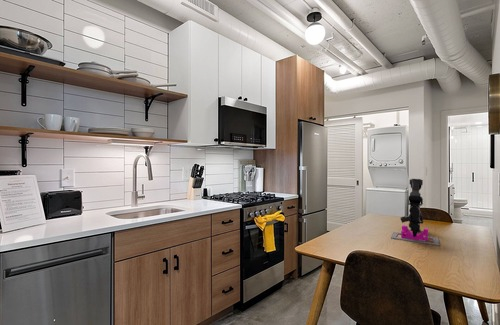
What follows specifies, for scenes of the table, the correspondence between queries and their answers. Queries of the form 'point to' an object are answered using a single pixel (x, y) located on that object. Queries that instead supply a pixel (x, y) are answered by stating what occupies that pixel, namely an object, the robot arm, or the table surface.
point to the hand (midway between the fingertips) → (414, 235)
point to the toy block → (409, 235)
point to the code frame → (435, 240)
